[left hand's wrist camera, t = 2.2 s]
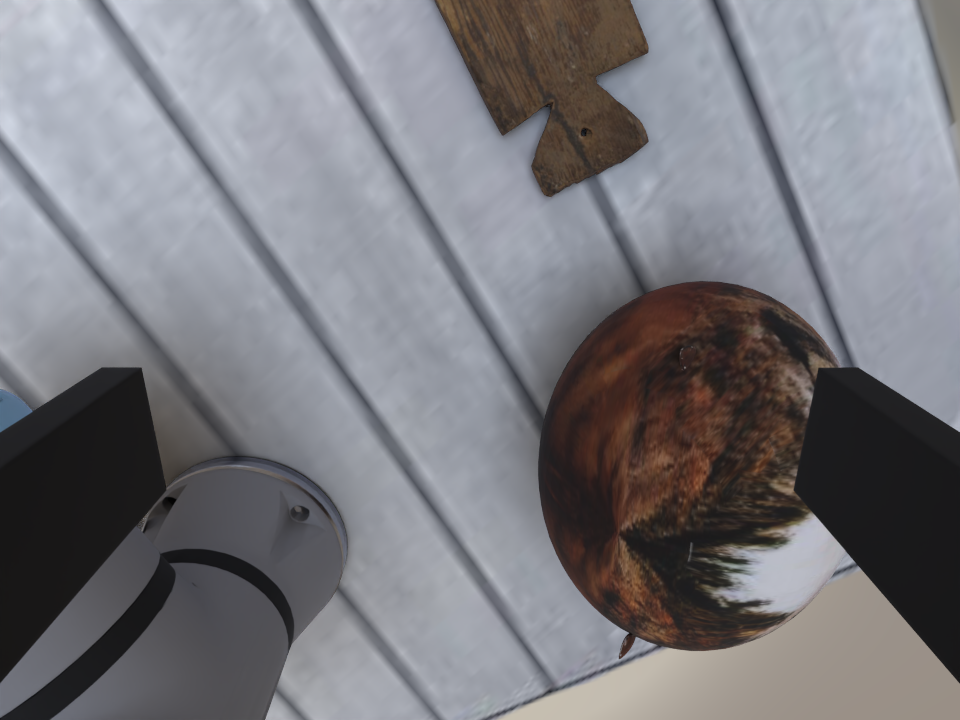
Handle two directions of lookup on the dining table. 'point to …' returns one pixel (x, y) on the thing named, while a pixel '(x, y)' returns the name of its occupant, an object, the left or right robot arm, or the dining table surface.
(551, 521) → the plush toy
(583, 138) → the dark wooden board
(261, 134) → the dining table surface
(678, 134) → the dining table surface
